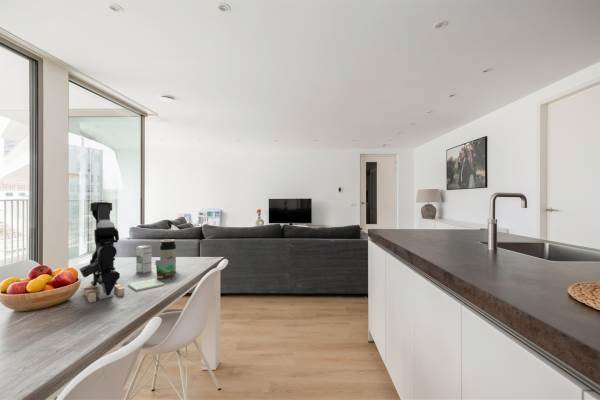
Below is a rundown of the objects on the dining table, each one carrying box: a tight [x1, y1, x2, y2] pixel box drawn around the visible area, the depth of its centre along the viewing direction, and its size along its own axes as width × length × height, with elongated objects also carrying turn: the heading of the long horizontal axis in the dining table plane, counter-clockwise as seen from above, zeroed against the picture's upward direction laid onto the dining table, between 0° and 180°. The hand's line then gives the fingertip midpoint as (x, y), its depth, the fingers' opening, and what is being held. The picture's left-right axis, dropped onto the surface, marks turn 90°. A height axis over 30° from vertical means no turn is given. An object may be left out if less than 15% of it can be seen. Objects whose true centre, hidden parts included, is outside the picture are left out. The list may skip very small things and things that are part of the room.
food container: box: [154, 256, 177, 280], centre depth 146 cm, size 12×6×10 cm, turn 168°
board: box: [127, 278, 165, 292], centre depth 132 cm, size 12×12×1 cm
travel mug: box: [159, 238, 177, 273], centre depth 157 cm, size 8×8×18 cm
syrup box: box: [135, 244, 153, 274], centre depth 158 cm, size 6×6×14 cm
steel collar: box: [96, 282, 115, 300], centre depth 117 cm, size 5×5×6 cm
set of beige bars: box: [83, 281, 125, 303], centre depth 119 cm, size 13×12×4 cm
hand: (105, 292), depth 117 cm, fingers open, 8 cm apart
